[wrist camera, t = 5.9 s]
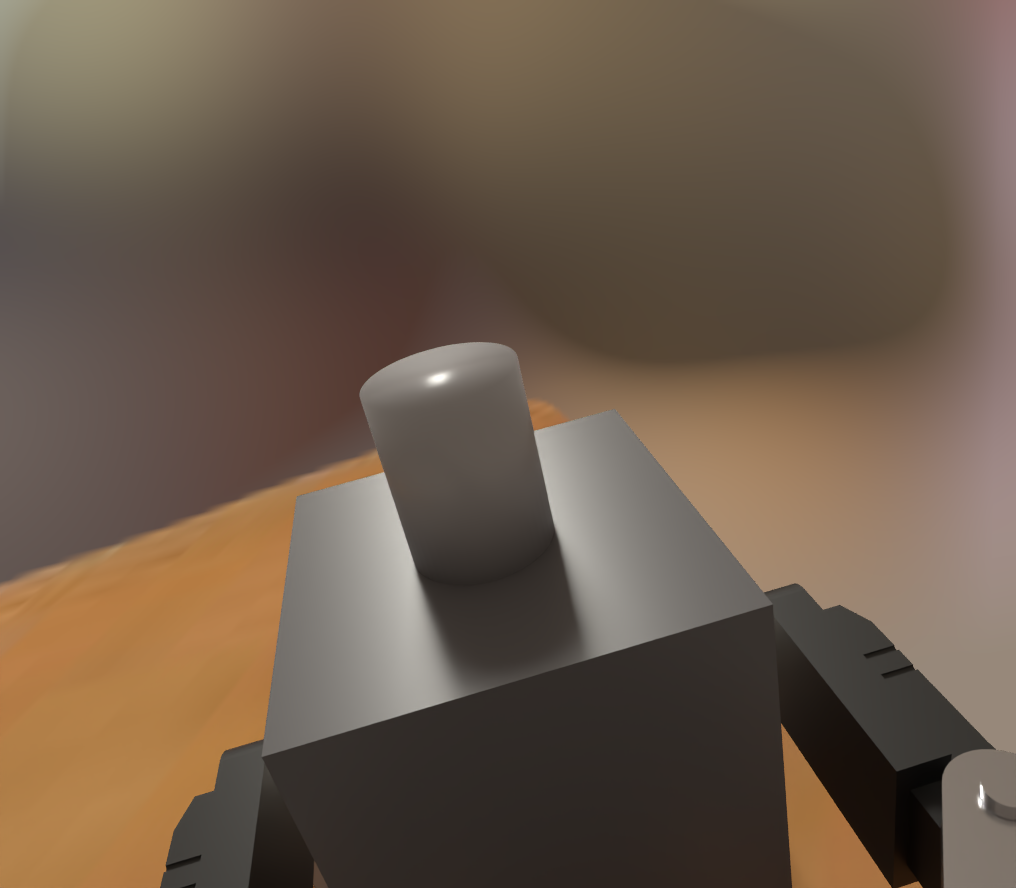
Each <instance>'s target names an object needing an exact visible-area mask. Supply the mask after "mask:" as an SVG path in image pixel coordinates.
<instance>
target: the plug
mask: <svg viewBox="0 0 1016 888" xmlns="http://www.w3.org/2000/svg"><path fill="white" fill-rule="evenodd" d="M360 399H361V402H362V405H363V408H364V412H365V414H366V418H367V421H368V424H369V427H370V430H371V433H372V436H373V439H374V442H375V445H376V448H377V451H378V454H379V457H380V461H381V464H382V467H383V470H384V473H380V474H377V475H373V476H369V477H366V478H362V479H358V480H355V481H351V482H347V483H344V484H340V485H337V486H333V487H329V488H326V489H322V490H318V491H315V492H311V493H308V494H304V495H300V496H297V499H296V506H295V513H294V521H293V528H292V536H291V543H290V550H289V558H288V565H287V572H286V580H285V587H284V595H283V602H282V609H281V617H280V624H279V632H278V639H277V646H276V654H275V661H274V668H273V676H272V683H271V691H270V698H269V705H268V713H267V720H266V727H265V735H264V742H263V750H262V759H263V761H264V763H265V765H266V767H267V769H268V771H269V773H270V775H271V777H272V779H273V781H274V783H275V785H276V786H277V788H278V790H279V792H280V794H281V796H282V798H283V800H284V802H285V804H286V806H287V808H288V810H289V812H290V814H291V816H292V818H293V820H294V822H295V824H296V826H297V828H298V830H299V831H300V833H301V835H302V837H303V839H304V841H305V843H306V845H307V847H308V849H309V851H310V853H311V855H312V857H313V859H314V861H315V863H316V865H317V867H318V869H319V871H320V873H321V875H322V876H323V878H324V880H325V882H326V884H327V886H328V888H792V881H791V866H790V851H789V836H788V821H787V806H786V791H785V776H784V761H783V747H782V732H781V717H780V702H779V687H778V672H777V657H776V642H775V627H774V612H773V604H772V603H771V601H770V600H769V599H768V598H767V596H766V595H765V594H764V593H763V591H762V590H761V589H760V588H759V586H758V585H757V584H756V583H755V581H754V580H753V579H752V578H751V577H750V575H749V574H748V573H747V572H746V570H745V569H744V568H743V567H742V565H741V564H740V563H739V562H738V560H737V559H736V558H735V557H734V556H733V555H732V553H731V552H730V551H729V549H728V548H727V547H726V546H725V544H724V543H723V542H722V541H721V540H720V538H719V537H718V536H717V535H716V533H715V532H714V531H713V530H712V528H711V527H710V526H709V525H708V523H707V522H706V521H705V520H704V518H703V517H702V516H701V515H700V514H699V512H698V511H697V510H696V509H695V507H694V506H693V505H692V504H691V502H690V501H689V500H688V499H687V497H686V496H685V495H684V494H683V493H682V492H681V490H680V489H679V488H678V486H677V485H676V484H675V483H674V481H673V480H672V479H671V478H670V476H669V475H668V474H667V473H666V472H665V470H664V469H663V468H662V467H661V465H660V464H659V463H658V462H657V460H656V459H655V458H654V457H653V456H652V454H651V453H650V452H649V451H648V449H647V448H646V447H645V446H644V444H643V443H642V442H641V441H640V439H639V438H638V437H637V436H636V435H635V433H634V432H633V431H632V430H631V428H630V427H629V426H628V425H627V423H626V422H625V421H624V420H623V418H622V417H621V416H620V415H619V413H618V412H617V411H616V410H615V409H613V410H609V411H605V412H602V413H598V414H595V415H591V416H587V417H584V418H580V419H576V420H573V421H569V422H565V423H562V424H558V425H555V426H551V427H547V428H544V429H540V430H536V431H534V430H533V426H532V421H531V417H530V412H529V407H528V403H527V398H526V394H525V389H524V385H523V380H522V375H521V371H520V366H519V362H518V357H517V355H516V353H515V352H514V351H513V350H512V349H511V348H509V347H507V346H504V345H500V344H496V343H485V342H475V343H462V344H454V345H448V346H443V347H439V348H434V349H431V350H427V351H424V352H420V353H417V354H414V355H411V356H409V357H406V358H404V359H401V360H399V361H397V362H395V363H393V364H391V365H389V366H387V367H385V368H384V369H382V370H380V371H379V372H377V373H376V374H375V375H373V376H372V377H371V378H369V379H368V380H367V382H365V384H364V385H363V386H362V388H361V390H360Z"/></svg>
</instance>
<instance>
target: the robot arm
mask: <svg viewBox="0 0 1016 888" xmlns="http://www.w3.org/2000/svg"><path fill="white" fill-rule="evenodd" d="M764 594H765V595H766V596H767V598H768V599H769V600H770V601H771V603H772V604H773V612H774V627H775V642H776V657H777V672H778V687H779V702H780V717H781V723H782V725H783V726H784V728H785V729H786V731H787V732H788V734H789V735H790V737H791V738H792V740H793V741H794V743H795V744H796V745H797V747H798V748H799V750H800V751H801V753H802V754H803V756H804V757H805V759H806V760H807V762H808V763H809V765H810V766H811V768H812V769H813V771H814V772H815V774H816V775H817V777H818V778H819V780H820V781H821V783H822V784H823V786H824V787H825V789H826V790H827V792H828V793H829V795H830V796H831V798H832V799H833V801H834V802H835V804H836V805H837V807H838V808H839V810H840V811H841V813H842V814H843V815H844V817H845V818H846V820H847V821H848V823H849V824H850V826H851V827H852V829H853V830H854V832H855V833H856V835H857V836H858V838H859V839H860V841H861V842H862V844H863V845H864V847H865V848H866V850H867V851H868V853H869V854H870V856H871V857H872V859H873V860H874V862H875V863H876V865H877V866H878V868H879V869H880V871H881V872H882V874H883V875H884V877H885V878H886V880H887V881H888V882H889V884H890V885H891V887H892V888H899V887H902V886H905V885H908V884H911V883H914V882H917V881H919V883H920V884H921V886H922V887H923V888H1016V754H1014V753H1011V752H1006V751H1002V750H996V749H995V748H994V747H993V746H992V745H991V744H989V743H988V742H987V741H986V740H985V739H984V738H983V737H982V736H981V734H980V733H979V732H978V731H977V730H976V729H975V728H974V727H973V726H972V725H971V724H970V723H969V722H968V721H967V720H966V719H965V718H964V717H963V716H962V715H961V714H960V713H959V712H958V711H957V710H956V709H955V708H954V707H953V706H952V705H951V704H950V702H949V701H948V700H947V699H946V698H945V697H944V696H943V695H942V694H941V693H940V692H939V691H938V690H937V689H936V688H935V687H934V686H933V685H932V684H931V683H930V682H929V681H928V680H927V679H926V678H925V677H924V676H923V674H921V672H920V671H919V670H915V669H914V667H913V664H912V663H911V662H910V661H909V660H908V659H907V658H906V657H905V656H904V655H903V654H902V653H901V652H900V651H899V650H896V649H895V647H894V644H893V643H892V642H891V641H890V640H889V639H888V638H887V637H886V636H885V635H884V634H883V633H882V632H881V631H880V630H879V629H878V628H877V627H876V626H875V625H874V624H873V623H872V622H871V621H869V620H867V619H865V618H863V617H862V616H860V615H857V614H856V613H854V612H852V611H850V610H848V609H846V608H844V607H843V606H841V605H838V606H835V607H832V608H829V609H825V610H823V609H822V608H821V607H820V606H819V605H818V604H817V603H816V602H815V600H814V599H813V598H812V597H811V596H810V595H809V594H808V593H807V592H806V591H805V589H803V587H801V586H800V585H798V584H792V585H788V586H785V587H781V588H778V589H774V590H771V591H768V592H764ZM263 742H264V739H263V740H259V741H256V742H253V743H249V744H246V745H242V746H239V747H236V748H232V749H229V750H226V751H225V752H224V753H223V754H222V756H221V759H220V764H219V769H218V774H217V779H216V784H215V789H214V791H212V792H208V793H205V794H202V795H198V796H195V797H194V799H193V801H192V802H191V804H190V805H189V807H188V809H187V810H186V812H185V814H184V815H183V817H182V818H181V820H180V822H179V823H178V825H177V827H176V828H175V830H174V833H173V837H172V841H171V845H170V849H169V853H168V858H167V862H166V869H167V870H166V872H164V874H163V878H162V883H161V887H160V888H313V877H314V859H313V857H312V855H311V853H310V851H309V849H308V847H307V845H306V843H305V841H304V839H303V837H302V835H301V833H300V831H299V830H298V828H297V826H296V824H295V822H294V820H293V818H292V816H291V814H290V812H289V810H288V808H287V806H286V804H285V802H284V800H283V798H282V796H281V794H280V792H279V790H278V788H277V786H276V785H275V783H274V781H273V779H272V777H271V775H270V773H269V771H268V769H267V767H266V765H265V763H264V761H263V759H262V750H263Z"/></svg>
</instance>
